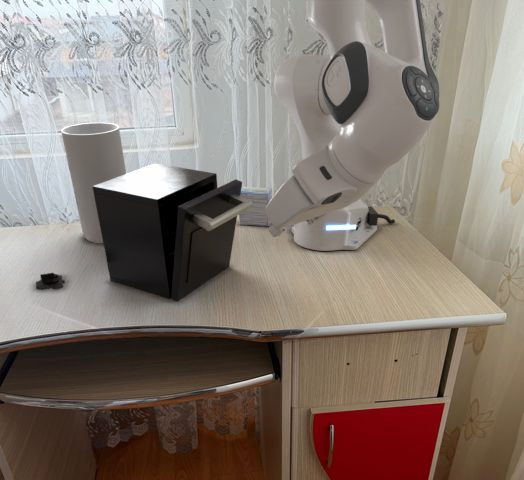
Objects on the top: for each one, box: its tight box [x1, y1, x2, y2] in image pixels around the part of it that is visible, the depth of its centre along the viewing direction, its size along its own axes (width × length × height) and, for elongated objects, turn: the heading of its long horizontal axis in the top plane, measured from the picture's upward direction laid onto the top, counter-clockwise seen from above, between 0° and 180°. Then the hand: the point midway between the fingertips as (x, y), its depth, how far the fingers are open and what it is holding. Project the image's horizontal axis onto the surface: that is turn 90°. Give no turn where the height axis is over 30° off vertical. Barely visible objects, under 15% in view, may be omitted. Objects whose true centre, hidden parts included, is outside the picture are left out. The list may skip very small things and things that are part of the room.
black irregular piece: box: [35, 272, 65, 291], centre depth 111 cm, size 6×2×6 cm
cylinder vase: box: [60, 122, 127, 244], centre depth 127 cm, size 12×12×25 cm
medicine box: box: [238, 186, 273, 227], centre depth 137 cm, size 8×4×9 cm, turn 77°
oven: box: [92, 163, 218, 300], centre depth 110 cm, size 16×18×20 cm
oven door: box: [170, 178, 253, 302], centre depth 104 cm, size 6×18×20 cm, turn 148°
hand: (291, 226), depth 90 cm, fingers open, 8 cm apart
